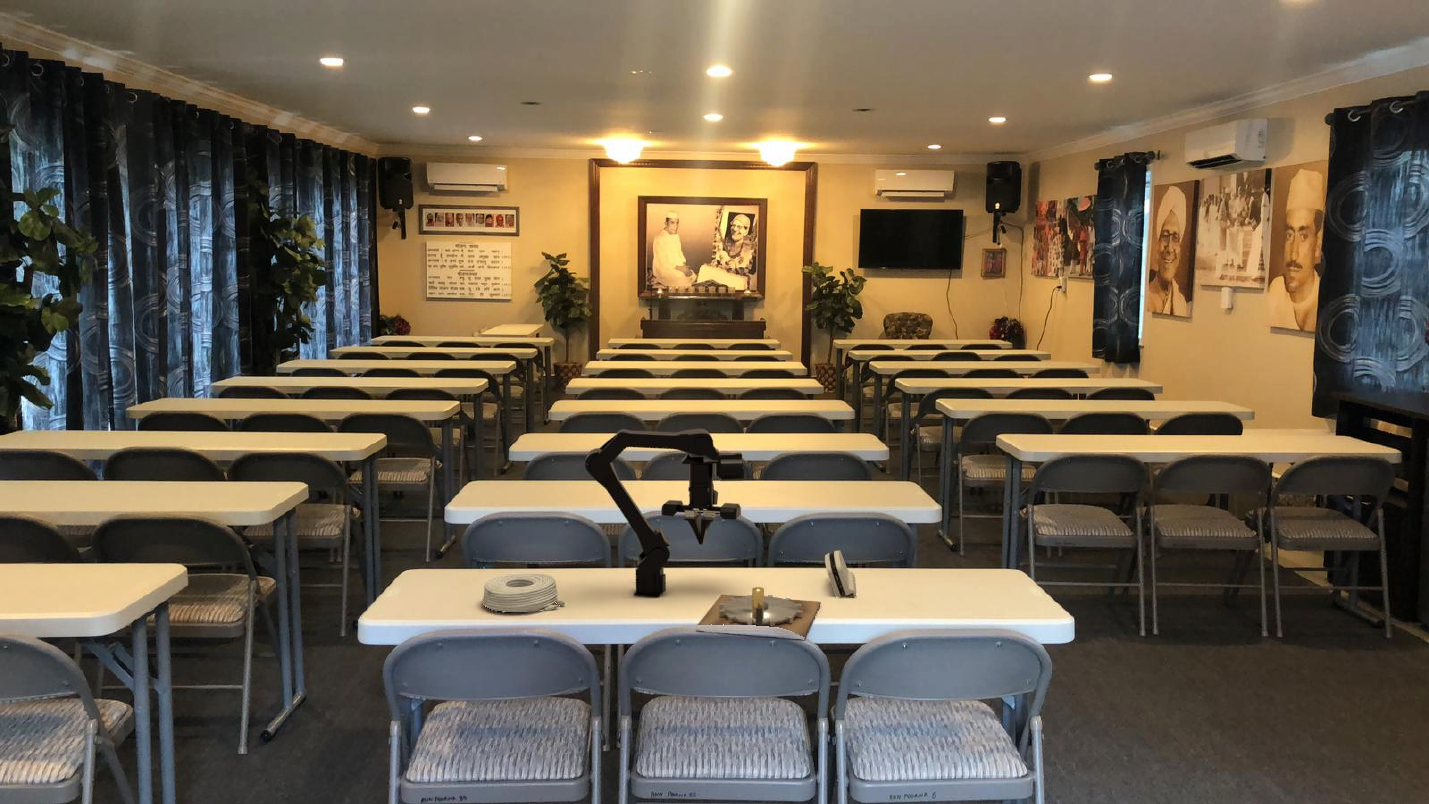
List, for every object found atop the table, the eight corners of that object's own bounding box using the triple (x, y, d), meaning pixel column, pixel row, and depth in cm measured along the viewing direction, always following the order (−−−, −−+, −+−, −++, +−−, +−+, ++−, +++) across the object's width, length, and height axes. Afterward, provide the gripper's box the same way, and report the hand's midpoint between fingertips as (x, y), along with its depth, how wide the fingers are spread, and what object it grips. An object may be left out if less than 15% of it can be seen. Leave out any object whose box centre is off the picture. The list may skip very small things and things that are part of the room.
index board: (695, 631, 233) (695, 604, 233) (721, 598, 256) (721, 573, 256) (804, 640, 228) (804, 612, 227) (820, 605, 251) (820, 580, 250)
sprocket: (729, 629, 230) (729, 595, 229) (709, 602, 249) (709, 570, 248) (814, 623, 235) (814, 589, 234) (788, 596, 253) (788, 565, 252)
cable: (568, 609, 250) (568, 584, 249) (496, 621, 241) (496, 595, 240) (541, 589, 265) (541, 566, 264) (473, 600, 256) (472, 576, 255)
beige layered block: (856, 598, 256) (843, 560, 255) (838, 604, 257) (824, 566, 256) (855, 578, 273) (842, 542, 272) (837, 583, 273) (824, 547, 273)
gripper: (745, 476, 264) (745, 538, 266) (673, 473, 268) (673, 534, 270) (735, 485, 253) (735, 549, 255) (660, 482, 257) (661, 545, 259)
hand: (701, 544), depth 260 cm, fingers closed
